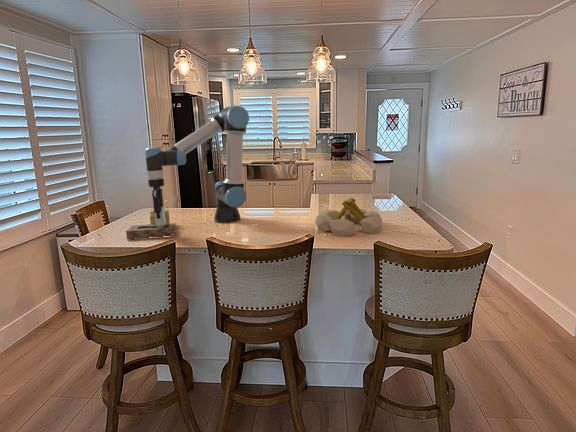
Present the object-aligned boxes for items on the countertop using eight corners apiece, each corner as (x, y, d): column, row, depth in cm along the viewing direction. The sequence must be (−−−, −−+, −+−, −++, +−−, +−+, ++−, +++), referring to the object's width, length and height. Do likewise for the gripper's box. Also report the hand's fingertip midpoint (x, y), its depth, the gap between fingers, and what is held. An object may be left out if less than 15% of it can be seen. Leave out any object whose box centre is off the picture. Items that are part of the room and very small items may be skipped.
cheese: (150, 230, 222) (148, 212, 220) (151, 225, 232) (149, 208, 230) (170, 228, 225) (168, 210, 222) (170, 224, 235) (168, 207, 232)
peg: (168, 231, 214) (165, 205, 211) (166, 233, 208) (163, 207, 205) (157, 231, 214) (154, 205, 210) (154, 234, 208) (151, 208, 205)
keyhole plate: (175, 231, 218) (174, 223, 217) (171, 237, 206) (170, 228, 205) (133, 233, 215) (132, 225, 214) (127, 239, 204) (126, 231, 203)
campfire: (329, 240, 193) (328, 205, 189) (307, 224, 225) (306, 193, 221) (395, 233, 202) (396, 199, 198) (365, 218, 234) (365, 189, 230)
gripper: (151, 176, 213) (156, 219, 218) (144, 181, 196) (149, 227, 201) (166, 176, 214) (170, 219, 219) (160, 180, 197) (164, 226, 202)
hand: (160, 223), depth 210 cm, fingers closed on peg, 4 cm apart
